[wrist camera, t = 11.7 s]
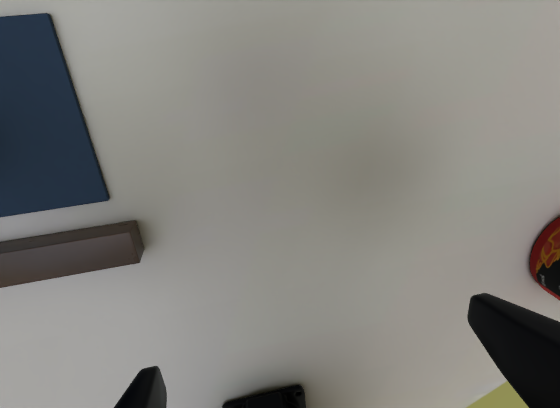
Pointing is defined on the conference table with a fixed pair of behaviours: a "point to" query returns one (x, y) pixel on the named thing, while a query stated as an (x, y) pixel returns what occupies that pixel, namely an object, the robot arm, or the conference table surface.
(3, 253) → the bar
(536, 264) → the canned food
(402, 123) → the conference table surface
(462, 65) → the conference table surface
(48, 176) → the mat
